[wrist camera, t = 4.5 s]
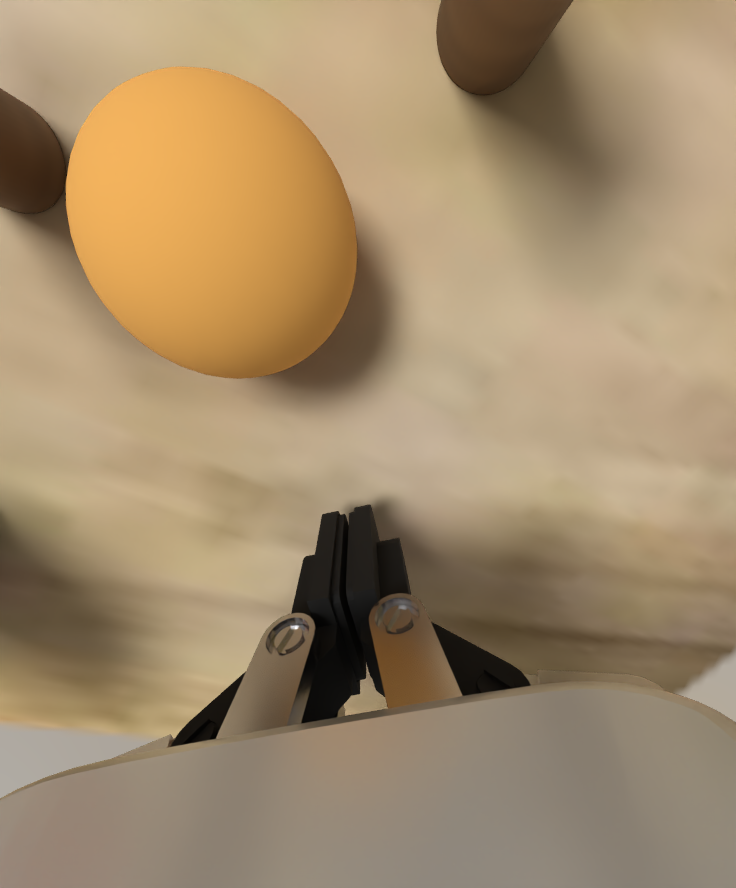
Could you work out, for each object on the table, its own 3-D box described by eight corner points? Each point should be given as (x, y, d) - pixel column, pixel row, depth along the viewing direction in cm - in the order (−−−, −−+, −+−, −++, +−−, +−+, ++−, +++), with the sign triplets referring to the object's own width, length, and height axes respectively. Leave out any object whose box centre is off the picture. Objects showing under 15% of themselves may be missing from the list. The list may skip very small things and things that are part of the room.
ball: (369, 87, 4) (398, 383, 9) (289, -11, 7) (344, 257, 12) (-99, 228, 4) (185, 452, 9) (7, 71, 7) (180, 308, 12)
